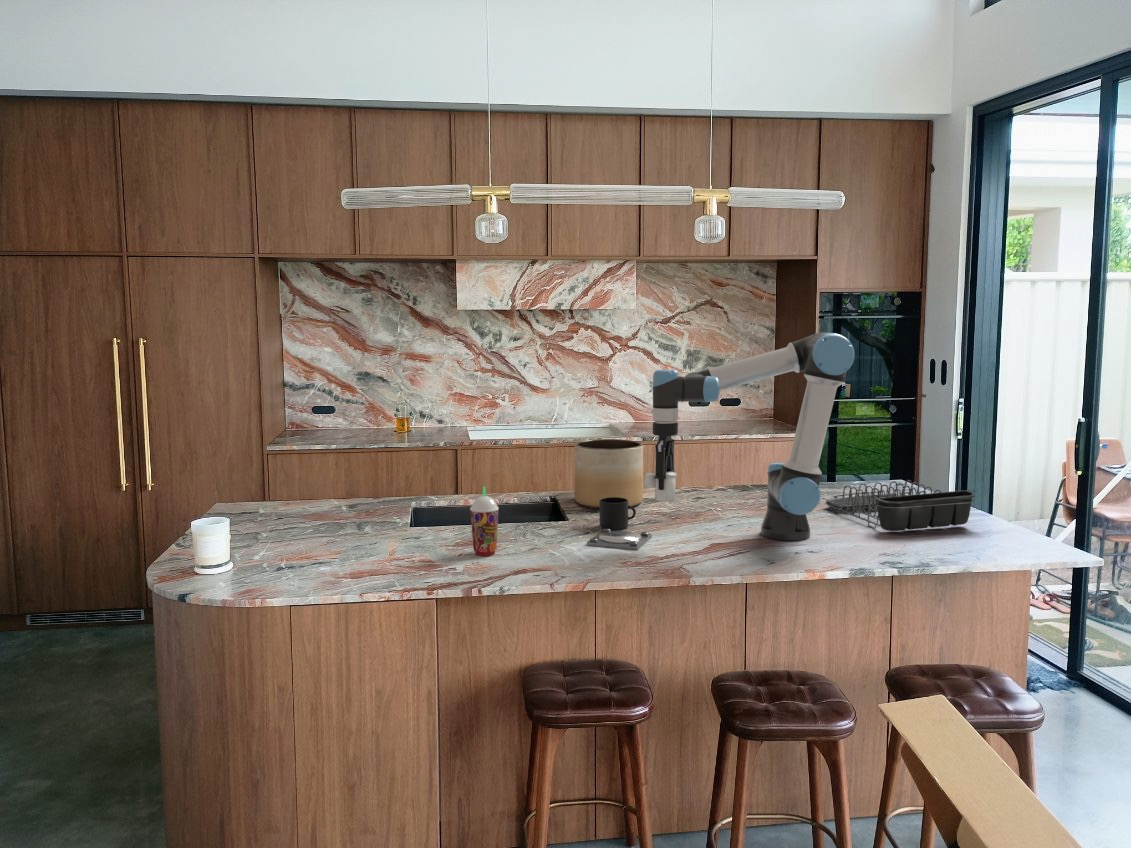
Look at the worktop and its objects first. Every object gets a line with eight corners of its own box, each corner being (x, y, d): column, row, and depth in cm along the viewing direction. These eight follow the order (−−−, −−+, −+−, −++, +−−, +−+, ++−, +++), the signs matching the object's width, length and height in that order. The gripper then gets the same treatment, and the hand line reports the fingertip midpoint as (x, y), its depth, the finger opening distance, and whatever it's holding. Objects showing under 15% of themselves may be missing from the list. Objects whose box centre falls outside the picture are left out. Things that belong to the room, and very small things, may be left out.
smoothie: (488, 559, 255) (486, 490, 253) (465, 555, 260) (463, 487, 257) (505, 552, 262) (504, 485, 260) (482, 548, 267) (481, 483, 264)
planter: (578, 494, 343) (578, 438, 340) (644, 496, 340) (645, 439, 337) (570, 509, 318) (569, 448, 315) (641, 511, 315) (641, 449, 312)
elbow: (678, 498, 270) (678, 472, 269) (673, 502, 264) (673, 475, 263) (648, 496, 273) (648, 470, 272) (642, 500, 267) (643, 474, 266)
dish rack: (886, 538, 278) (888, 500, 277) (814, 507, 321) (815, 474, 319) (979, 531, 287) (981, 494, 285) (896, 502, 329) (898, 470, 328)
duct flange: (651, 537, 279) (651, 531, 279) (637, 550, 264) (637, 544, 264) (603, 532, 285) (603, 527, 285) (586, 545, 270) (586, 539, 270)
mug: (637, 530, 288) (637, 502, 287) (600, 530, 288) (600, 503, 287) (634, 523, 297) (634, 496, 296) (598, 523, 297) (598, 497, 296)
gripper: (661, 417, 275) (660, 491, 278) (644, 425, 257) (644, 503, 260) (684, 418, 272) (684, 492, 275) (669, 426, 255) (669, 505, 258)
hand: (664, 497), depth 268 cm, fingers closed on elbow, 6 cm apart
